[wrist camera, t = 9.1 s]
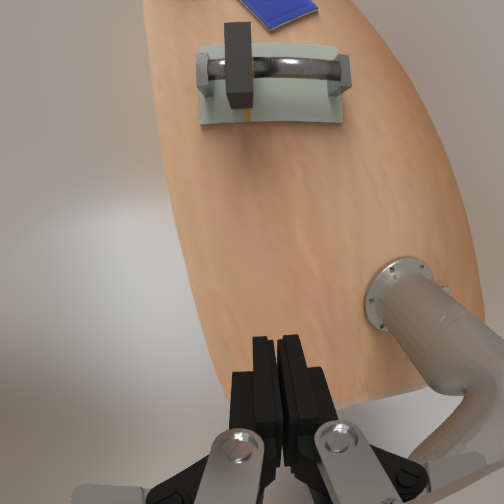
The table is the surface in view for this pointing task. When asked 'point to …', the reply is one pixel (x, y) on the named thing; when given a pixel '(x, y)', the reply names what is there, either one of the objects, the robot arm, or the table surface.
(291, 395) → the robot arm
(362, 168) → the table surface
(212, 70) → the rail
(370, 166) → the table surface
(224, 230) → the table surface
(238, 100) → the collar
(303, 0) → the hard drive
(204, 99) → the board
